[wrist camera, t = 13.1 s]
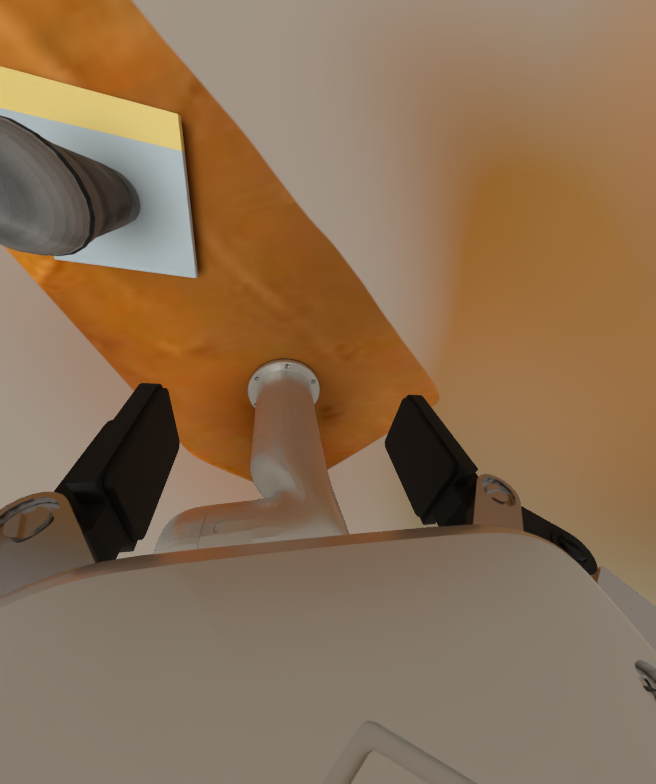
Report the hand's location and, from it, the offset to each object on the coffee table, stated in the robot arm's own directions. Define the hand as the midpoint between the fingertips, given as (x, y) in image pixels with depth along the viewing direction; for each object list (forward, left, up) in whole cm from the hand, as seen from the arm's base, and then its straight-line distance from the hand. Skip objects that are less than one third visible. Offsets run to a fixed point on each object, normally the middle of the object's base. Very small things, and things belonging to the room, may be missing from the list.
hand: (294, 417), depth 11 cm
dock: (+5, +17, -30) cm, 35 cm away
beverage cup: (+5, +17, -28) cm, 33 cm away
